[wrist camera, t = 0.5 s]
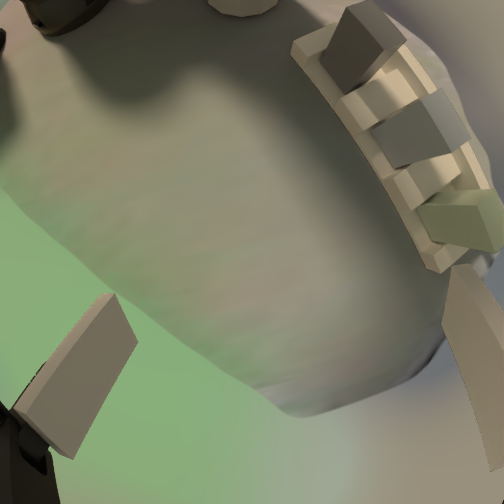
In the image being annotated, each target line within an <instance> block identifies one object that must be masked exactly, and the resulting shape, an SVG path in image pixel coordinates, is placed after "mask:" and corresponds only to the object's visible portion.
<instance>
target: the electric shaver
mask: <svg viewBox="0 0 504 504" xmlns="http://www.w3.org/2000/svg"><path fill="white" fill-rule="evenodd" d="M4 42H5V31H4V30H3V29H2V28H0V51H1V49H2V46H3V44H4Z"/></svg>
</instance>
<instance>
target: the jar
mask: <svg viewBox="0 0 504 504" xmlns="http://www.w3.org/2000/svg"><path fill="white" fill-rule="evenodd" d="M277 2H278V0H208V3H209V4H210V5H211V6H212V7H214V8H215V9H217V10H218V11H219V12H221V13H223V14H229V15H234V16H239V17H244V16H250V15H257V14H262V13H264V12H265V11H267V10H269V9H270V8H272V7H274V6H275V5H277Z"/></svg>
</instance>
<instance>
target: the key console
mask: <svg viewBox="0 0 504 504" xmlns="http://www.w3.org/2000/svg"><path fill="white" fill-rule="evenodd" d="M338 23H339V21H337V22H335V23H332V24H330V25H328V26H325V27H323V28H320V29H318V30H316V31H314V32H311V33H309V34H307V35H305V36H302V37H300V38H298V39H296V40H294V41H293V45H292V49H291V53H290V55H291V56H292V58H293V59H294V60H295V61H296V62H297V64H298V65H299V66H300V67H301V68H302V70H303V71H304V72H305V73H306V75H307V76H308V77H309V78H310V80H311V81H312V82H313V83H314V85H315V86H316V87H317V89H318V90H319V91H320V93H321V94H322V95H323V96H324V98H325V99H326V101H327V102H328V103H329V105H330V106H331V107H332V109H333V110H334V111H335V113H336V114H337V116H338V117H339V118H340V120H341V121H342V123H343V124H344V126H345V127H346V128H347V130H348V131H349V133H350V134H351V136H352V137H353V139H354V140H355V142H356V143H357V145H358V146H359V148H360V149H361V151H362V152H363V154H364V156H365V157H366V159H367V160H368V162H369V164H370V165H371V167H372V168H373V170H374V172H375V173H376V175H377V177H378V178H379V180H380V182H381V183H382V185H383V187H384V188H385V190H386V192H387V194H388V195H389V197H390V199H391V201H392V202H393V204H394V206H395V208H396V210H397V211H398V213H399V215H400V217H401V219H402V221H403V222H404V224H405V226H406V228H407V230H408V232H409V234H410V236H411V238H412V240H413V242H414V244H415V246H416V248H417V250H418V252H419V254H420V256H421V258H422V260H423V262H424V265H425V267H426V269H429V270H432V271H435V272H437V273H440V274H442V273H443V272H444V271H445V270H446V269H447V268H449V267H450V266H451V265H452V264H453V263H454V262H455V261H457V260H458V259H459V258H460V257H461V256H462V255H463V254H464V253H466V252H467V251H468V250H469V249H470V248H466V247H461V246H456V245H451V244H446V243H442V242H437V241H432V239H431V237H430V235H429V233H428V231H427V229H426V227H425V225H424V223H423V221H422V219H421V217H420V215H419V213H418V211H417V209H416V207H418V206H419V205H420V204H422V203H423V202H424V201H426V200H427V199H428V198H429V197H431V196H432V195H433V194H435V193H436V192H445V191H462V190H480V189H490V188H489V185H488V183H487V181H486V178H485V176H484V174H483V172H482V169H481V167H480V165H479V163H478V161H477V159H476V157H475V155H474V153H473V151H472V149H471V147H470V145H469V143H468V141H467V142H466V143H464V144H463V145H462V146H460V147H459V148H458V149H456V150H455V151H454V152H452V153H450V154H446V155H442V156H438V157H434V158H430V159H426V160H422V161H419V162H415V163H411V164H407V165H404V166H400V167H396V168H393V166H392V164H391V163H390V161H389V159H388V158H387V156H386V155H385V153H384V151H383V150H382V148H381V147H380V145H379V143H378V142H377V140H376V139H375V137H374V136H373V134H372V133H371V130H373V129H375V128H376V127H378V126H379V125H381V124H382V123H384V122H386V121H387V120H389V119H390V118H392V117H393V116H395V115H397V114H398V113H400V112H401V111H403V110H405V109H406V108H408V107H409V106H411V105H413V104H414V103H416V102H417V101H419V100H421V99H422V98H424V97H426V96H428V95H429V94H431V93H433V92H435V91H436V90H437V89H436V87H435V86H434V84H433V83H432V81H431V80H430V78H429V77H428V75H427V74H426V73H425V71H424V70H423V68H422V67H421V66H420V64H419V63H418V61H417V60H416V59H415V57H414V56H413V55H412V53H411V52H410V51H409V50H408V48H407V47H406V46H405V45H404V44H403V45H402V46H401V47H400V48H399V49H398V50H397V51H396V52H395V53H394V54H393V55H392V56H391V57H390V59H389V60H388V61H387V62H386V63H385V64H384V65H383V66H382V67H381V68H380V69H379V70H378V71H377V72H376V73H375V74H374V76H373V77H372V78H371V79H370V80H369V81H368V82H367V83H366V84H365V85H364V86H362V87H360V88H358V89H356V90H354V91H353V92H351V93H349V94H347V95H345V94H344V93H343V91H342V90H341V89H340V87H339V86H338V85H337V83H336V82H335V81H334V80H333V78H332V77H331V76H330V74H329V73H328V72H327V71H326V69H325V68H324V67H323V66H322V65H321V63H320V61H321V59H322V57H323V55H324V53H325V50H326V48H327V46H328V44H329V42H330V40H331V38H332V36H333V34H334V32H335V29H336V27H337V25H338Z"/></svg>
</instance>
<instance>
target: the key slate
mask: <svg viewBox="0 0 504 504" xmlns="http://www.w3.org/2000/svg"><path fill="white" fill-rule="evenodd" d="M371 133H372V134H373V136H374V137H375V139H376V140H377V142H378V143H379V145H380V147H381V148H382V150H383V151H384V153H385V155H386V156H387V158H388V159H389V161H390V163H391V164H392V166H393V168H396V167H400V166H404V165H407V164H411V163H415V162H419V161H422V160H426V159H430V158H434V157H438V156H442V155H446V154H450V153H452V152H454V151H455V150H456V149H458V148H459V147H460V146H462V145H463V144H464V143H466V142H467V141H468V140H470V139H471V137H470V135H469V133H468V131H467V129H466V127H465V126H464V124H463V122H462V120H461V118H460V117H459V115H458V113H457V112H456V110H455V108H454V107H453V105H452V103H451V102H450V100H449V98H448V97H447V95H446V94H445V92H444V91H443V89H442V88H440V89H438V90H436V91H435V92H433V93H431V94H429V95H428V96H426V97H424V98H422V99H421V100H419V101H417V102H416V103H414V104H413V105H411V106H409V107H408V108H406V109H405V110H403V111H401V112H400V113H398V114H397V115H395V116H393V117H392V118H390V119H389V120H387V121H386V122H384V123H382V124H381V125H379V126H378V127H376V128H375V129H373V130H371Z"/></svg>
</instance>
